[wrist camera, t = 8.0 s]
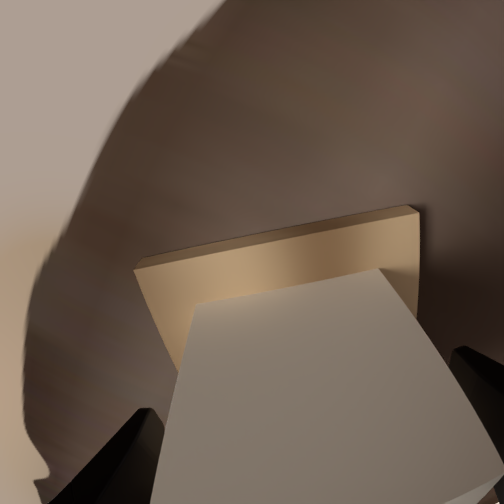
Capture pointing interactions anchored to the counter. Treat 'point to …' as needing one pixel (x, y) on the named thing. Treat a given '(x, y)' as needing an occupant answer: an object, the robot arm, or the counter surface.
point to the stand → (280, 265)
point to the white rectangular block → (319, 405)
